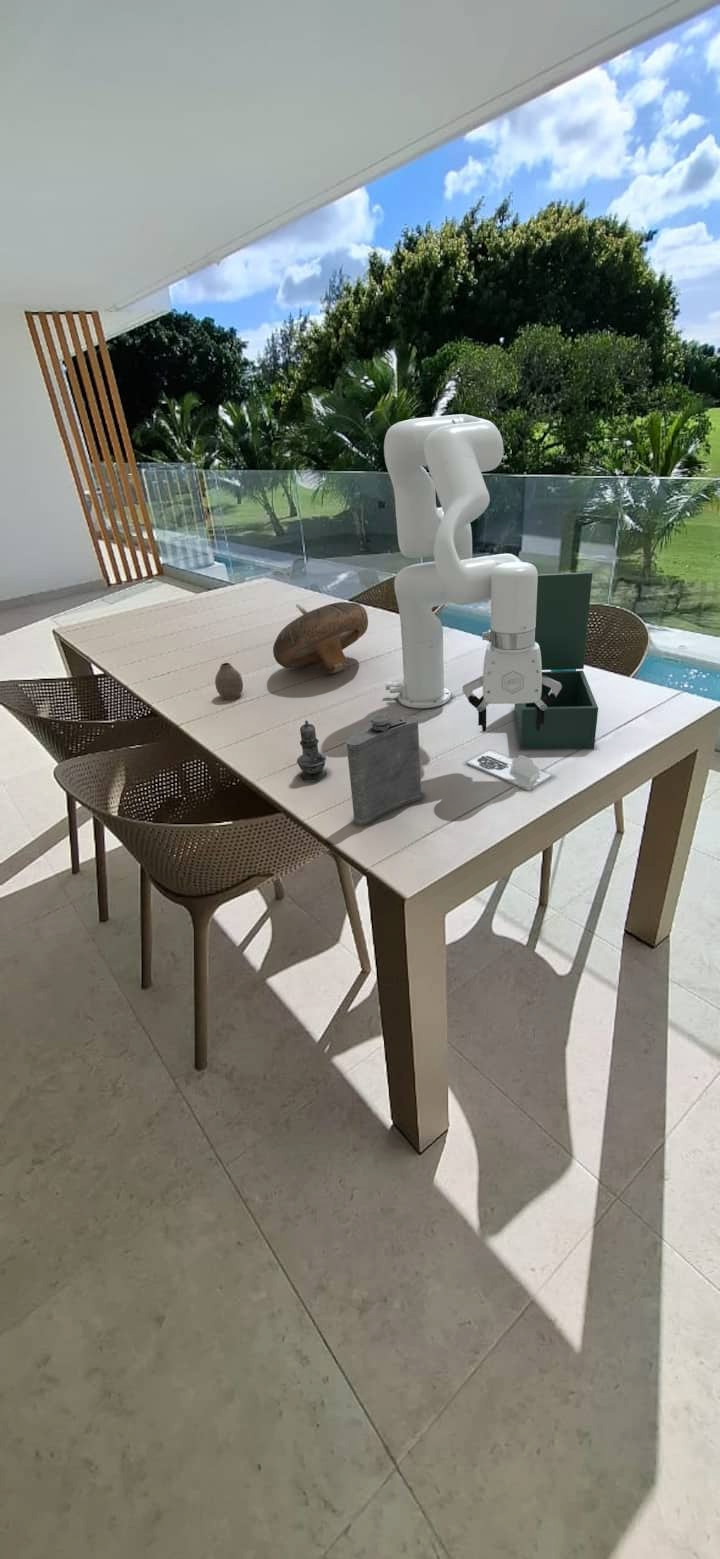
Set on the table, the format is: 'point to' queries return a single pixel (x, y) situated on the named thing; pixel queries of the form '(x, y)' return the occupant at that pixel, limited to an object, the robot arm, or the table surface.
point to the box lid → (562, 619)
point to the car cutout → (511, 769)
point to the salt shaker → (311, 755)
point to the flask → (384, 767)
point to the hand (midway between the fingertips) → (510, 727)
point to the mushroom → (321, 636)
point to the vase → (228, 682)
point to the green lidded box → (561, 716)
